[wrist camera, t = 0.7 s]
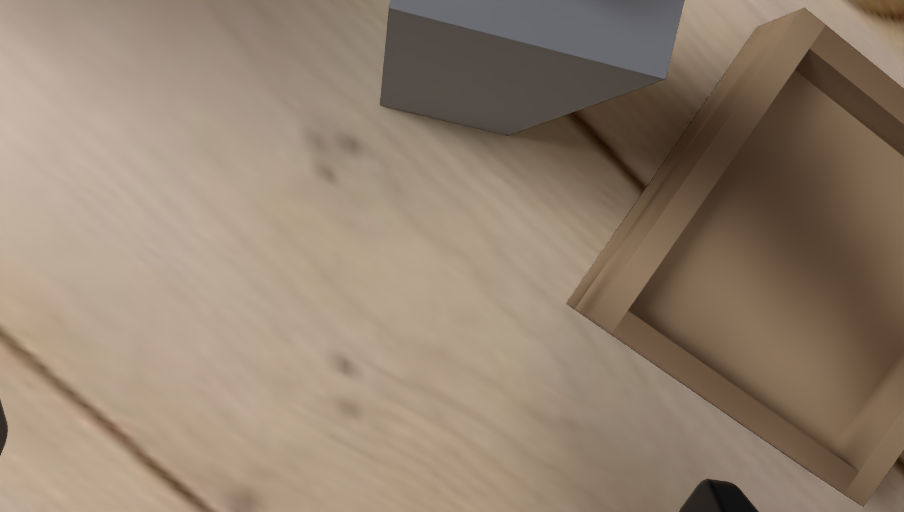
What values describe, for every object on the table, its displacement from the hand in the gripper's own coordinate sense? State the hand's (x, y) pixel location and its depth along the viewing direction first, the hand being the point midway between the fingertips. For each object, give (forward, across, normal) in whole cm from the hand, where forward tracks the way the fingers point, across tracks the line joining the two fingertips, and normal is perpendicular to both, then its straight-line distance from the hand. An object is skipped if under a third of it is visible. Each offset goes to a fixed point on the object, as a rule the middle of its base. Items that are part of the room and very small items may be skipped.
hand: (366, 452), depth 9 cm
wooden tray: (+13, -13, +4) cm, 19 cm away
